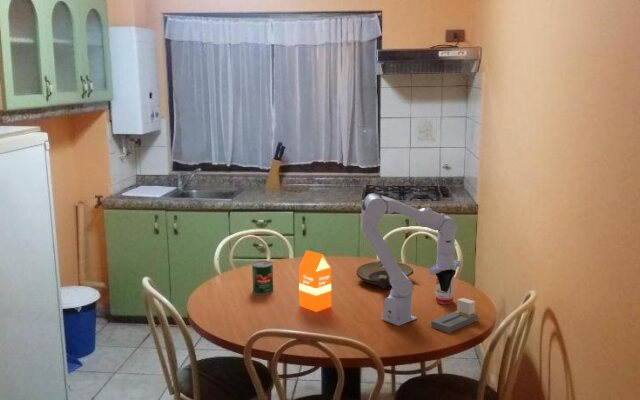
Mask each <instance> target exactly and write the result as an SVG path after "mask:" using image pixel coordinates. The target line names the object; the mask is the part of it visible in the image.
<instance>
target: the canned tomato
mask: <svg viewBox="0 0 640 400" xmlns="http://www.w3.org/2000/svg"><path fill="white" fill-rule="evenodd" d="M251 266H252V267H251V269H252V271H251V272H252V293H254V294H255V295H260V296H261V295H262V296H263V295H269V294H272V293H273V292H274V270H273V269H274V267H273V266H274V264H273V262H272V261H270V260H269V261H268V260H260V261H259V260H258V261H254V262H252V264H251Z"/></svg>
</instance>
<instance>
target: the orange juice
mask: <svg viewBox="0 0 640 400" xmlns="http://www.w3.org/2000/svg"><path fill="white" fill-rule="evenodd" d="M298 281H299V283H298V293H299V307H302V308H304V309H307V310H311V311H313V312H315V313H317V312H320V311H322V310H326V309H328V308H331V307H332V267H331V266H330V264H329V262H328V261H327V259H326V258H325V256H324V254H322V253H318V252H315V251H312V250H305V253H304V254H303V257H302V259H301V262H300V264H299V266H298Z"/></svg>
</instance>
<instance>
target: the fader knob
mask: <svg viewBox="0 0 640 400" xmlns="http://www.w3.org/2000/svg"><path fill="white" fill-rule="evenodd" d="M456 303H457V304H456V311H459V312H462V313H465V314H468V315H470V314H473V313H475V314H476V312H475V311H476V301H475V300H472V299H469V298H465V297H461V298H458V299H457V300H456Z"/></svg>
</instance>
